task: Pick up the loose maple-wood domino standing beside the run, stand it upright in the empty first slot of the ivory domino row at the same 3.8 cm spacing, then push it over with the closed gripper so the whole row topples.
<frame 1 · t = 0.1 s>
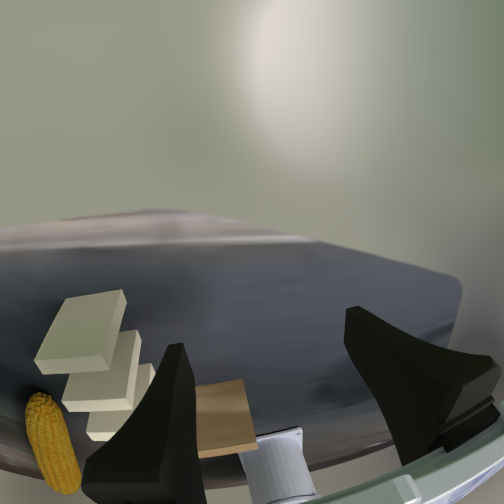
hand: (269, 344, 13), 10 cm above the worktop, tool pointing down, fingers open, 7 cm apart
domino 3: (111, 338, 23), on the worktop
domino 4: (95, 300, 22), on the worktop
food: (57, 432, 28), on the worktop
domino 2: (127, 370, 25), on the worktop
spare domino: (216, 387, 27), on the worktop
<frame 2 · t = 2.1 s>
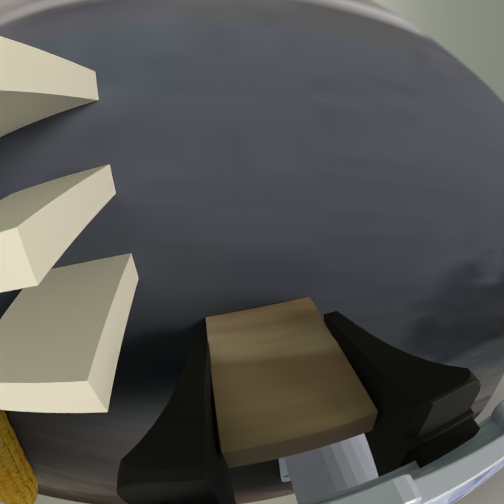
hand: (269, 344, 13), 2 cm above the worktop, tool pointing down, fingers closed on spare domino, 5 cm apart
domino 3: (58, 193, 11), on the worktop
domino 4: (41, 104, 9), on the worktop
domino 2: (84, 275, 13), on the worktop
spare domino: (259, 317, 15), on the worktop, touching gripper
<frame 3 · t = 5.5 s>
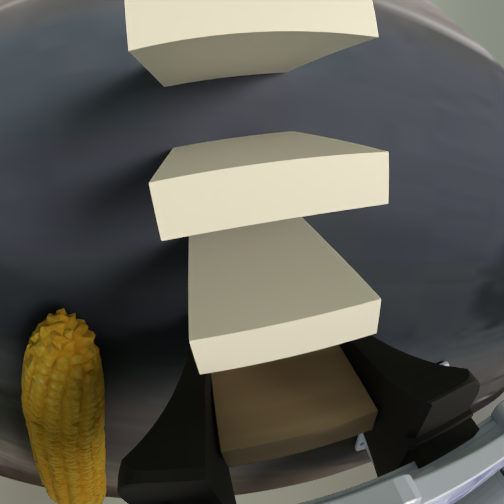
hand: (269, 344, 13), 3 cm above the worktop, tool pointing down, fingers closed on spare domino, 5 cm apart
domino 3: (235, 151, 13), on the worktop
domino 4: (224, 63, 11), on the worktop
food: (73, 409, 18), on the worktop
domino 2: (246, 236, 14), on the worktop
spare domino: (259, 316, 15), point 1 cm above the worktop, touching gripper
when the fingers open (3 cm above the worktop, at t = 5.6 s): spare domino moves 1 cm and tips over, resting on domino 2.
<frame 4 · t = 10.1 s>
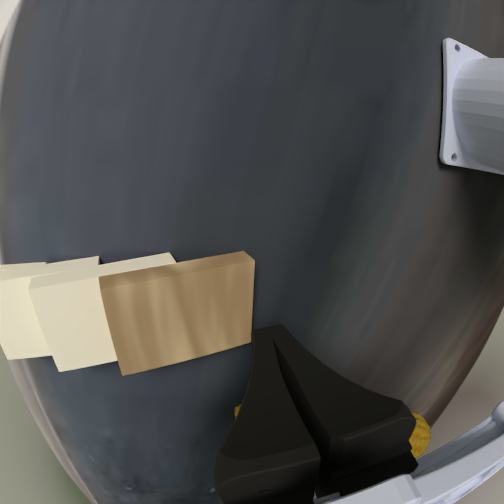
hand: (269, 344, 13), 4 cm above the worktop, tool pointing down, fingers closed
domino 3: (107, 303, 15), point 1 cm above the worktop, tilted 77°, touching domino 2
food: (339, 409, 24), on the worktop
domino 2: (176, 301, 16), point 1 cm above the worktop, tilted 72°, touching domino 3, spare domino
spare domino: (247, 299, 17), point 1 cm above the worktop, tilted 72°, touching domino 2
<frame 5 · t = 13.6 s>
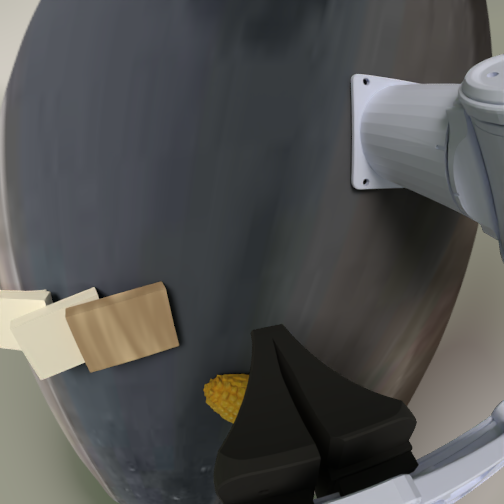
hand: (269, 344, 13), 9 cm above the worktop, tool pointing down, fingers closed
domino 3: (55, 324, 20), point 1 cm above the worktop, tilted 90°, touching domino 4
food: (300, 393, 30), on the worktop
domino 2: (106, 318, 21), point 1 cm above the worktop, tilted 64°, touching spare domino
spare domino: (170, 314, 22), point 1 cm above the worktop, tilted 71°, touching domino 2
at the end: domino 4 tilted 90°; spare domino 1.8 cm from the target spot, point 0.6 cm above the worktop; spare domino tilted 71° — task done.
